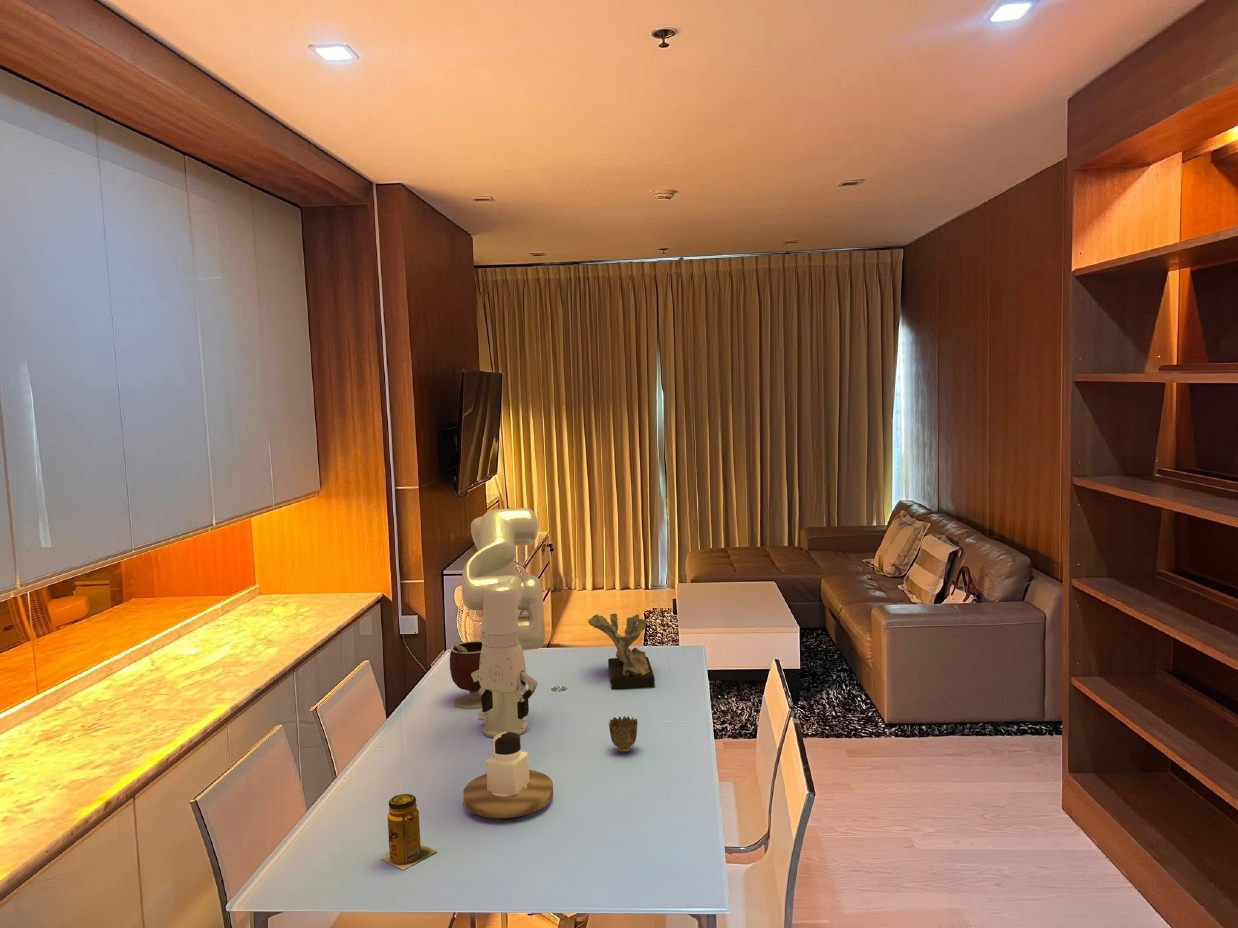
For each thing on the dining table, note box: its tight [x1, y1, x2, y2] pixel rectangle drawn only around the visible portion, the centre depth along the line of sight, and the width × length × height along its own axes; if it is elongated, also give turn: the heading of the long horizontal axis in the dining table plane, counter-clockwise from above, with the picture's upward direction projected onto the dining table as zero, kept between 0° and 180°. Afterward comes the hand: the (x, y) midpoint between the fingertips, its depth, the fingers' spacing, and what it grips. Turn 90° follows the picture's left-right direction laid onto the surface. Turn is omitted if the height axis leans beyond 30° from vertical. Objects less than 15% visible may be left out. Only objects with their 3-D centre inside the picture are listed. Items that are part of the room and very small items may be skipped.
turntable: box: [462, 769, 554, 819], centre depth 188 cm, size 20×20×6 cm
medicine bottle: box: [485, 732, 530, 796], centre depth 188 cm, size 7×7×12 cm
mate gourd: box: [449, 640, 482, 710], centre depth 254 cm, size 16×14×20 cm
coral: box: [587, 613, 656, 691], centre depth 270 cm, size 25×20×21 cm
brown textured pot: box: [608, 715, 639, 754], centre depth 214 cm, size 8×7×8 cm
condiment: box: [381, 793, 438, 871], centre depth 167 cm, size 7×8×12 cm
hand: (505, 713), depth 188 cm, fingers open, 9 cm apart
